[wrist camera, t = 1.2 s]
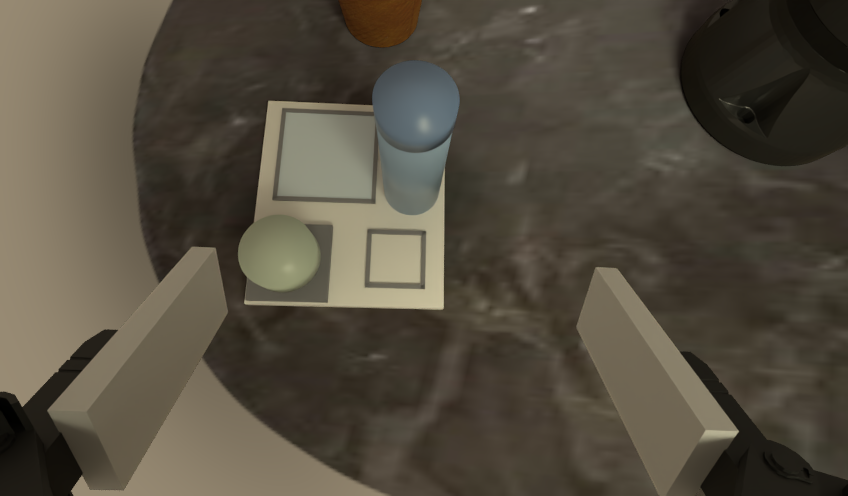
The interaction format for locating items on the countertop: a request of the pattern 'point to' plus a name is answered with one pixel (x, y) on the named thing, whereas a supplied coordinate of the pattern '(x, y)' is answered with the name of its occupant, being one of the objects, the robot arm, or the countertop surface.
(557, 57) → the countertop surface
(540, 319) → the countertop surface
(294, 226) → the button
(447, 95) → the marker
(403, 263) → the sheet
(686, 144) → the countertop surface
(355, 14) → the disposable coffee cup
